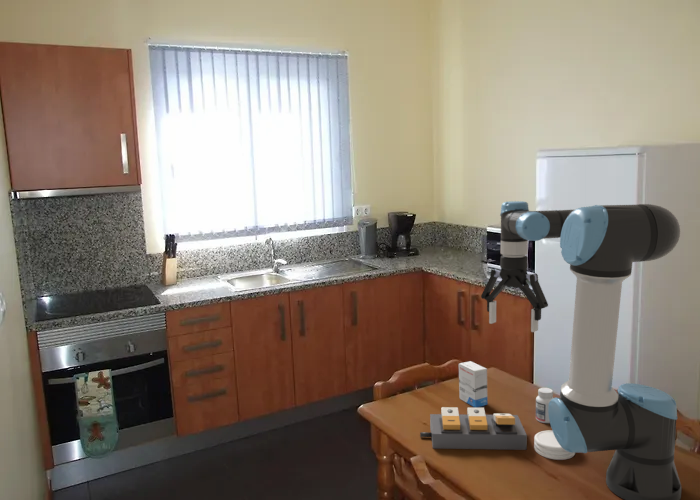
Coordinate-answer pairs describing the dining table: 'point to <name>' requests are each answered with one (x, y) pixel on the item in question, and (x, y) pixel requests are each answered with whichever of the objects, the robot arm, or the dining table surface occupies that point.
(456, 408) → the rocker
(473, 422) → the rocker
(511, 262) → the robot arm
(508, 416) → the block
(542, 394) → the pill bottle
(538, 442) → the coaster
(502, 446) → the rocker switch panel
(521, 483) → the dining table surface
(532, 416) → the dining table surface
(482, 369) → the ink box
